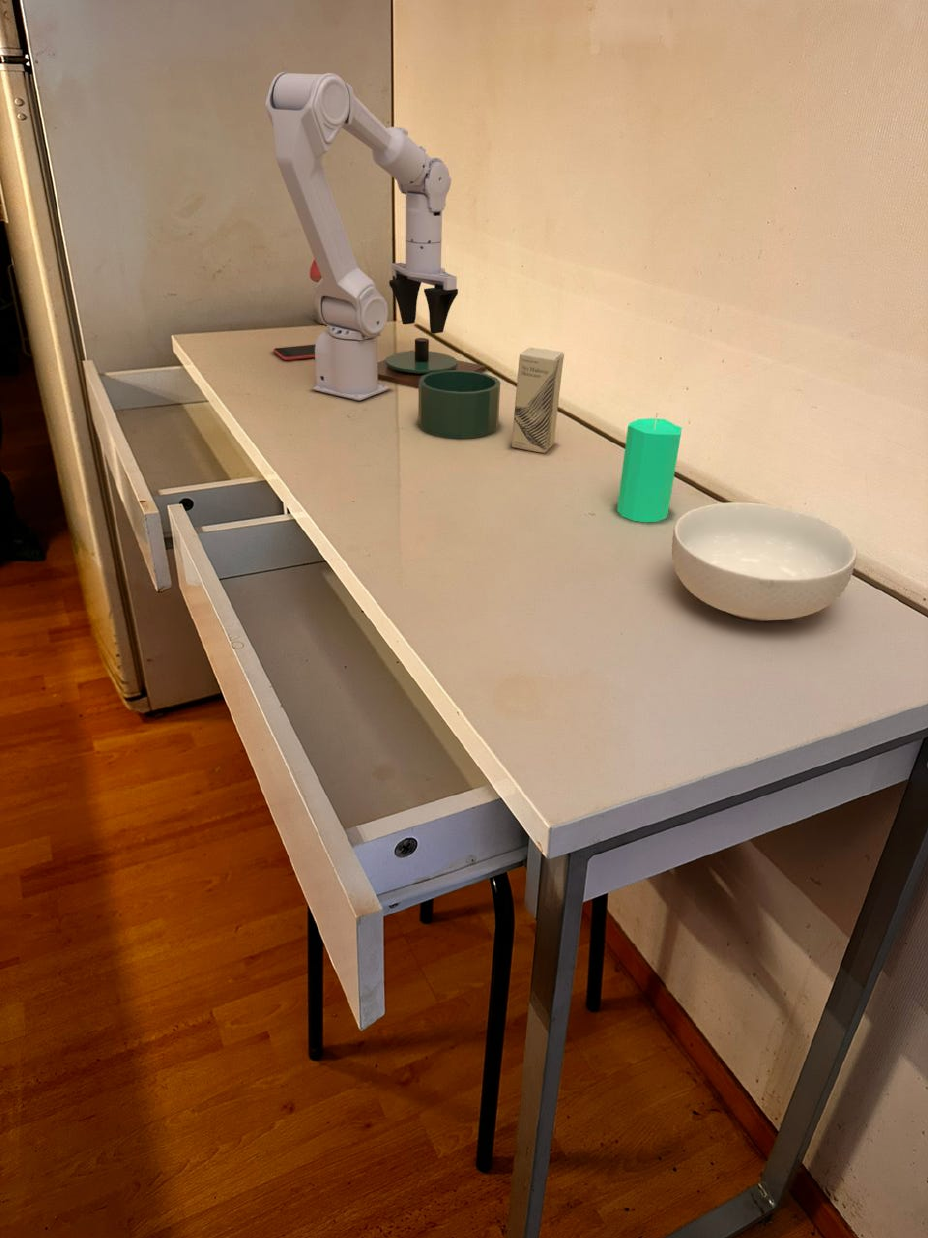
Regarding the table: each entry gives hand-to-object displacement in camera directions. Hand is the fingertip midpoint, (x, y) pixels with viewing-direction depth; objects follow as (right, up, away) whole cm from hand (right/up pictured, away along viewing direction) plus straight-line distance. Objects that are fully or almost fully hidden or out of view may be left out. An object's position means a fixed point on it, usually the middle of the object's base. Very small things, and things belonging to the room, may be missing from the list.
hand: (422, 327), depth 150 cm
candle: (+28, -36, -44) cm, 64 cm away
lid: (0, -5, +3) cm, 6 cm away
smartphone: (-20, -1, +12) cm, 23 cm away
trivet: (0, -6, +4) cm, 7 cm away
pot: (+6, -21, -20) cm, 29 cm away
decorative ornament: (-20, +12, +33) cm, 41 cm away
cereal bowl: (+35, -47, -62) cm, 86 cm away
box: (+17, -25, -26) cm, 40 cm away
